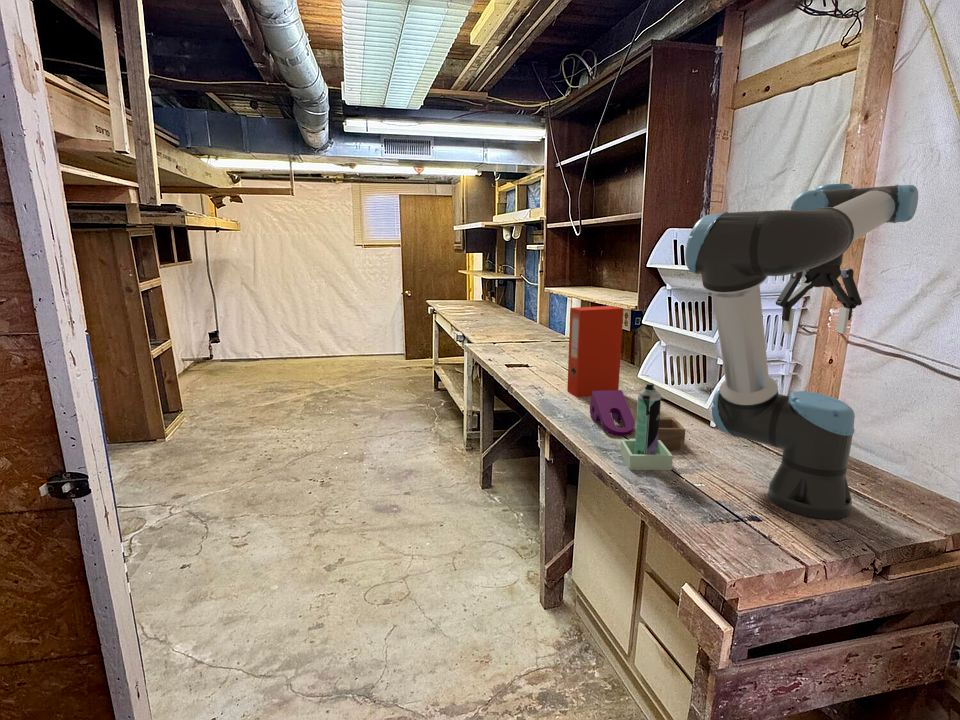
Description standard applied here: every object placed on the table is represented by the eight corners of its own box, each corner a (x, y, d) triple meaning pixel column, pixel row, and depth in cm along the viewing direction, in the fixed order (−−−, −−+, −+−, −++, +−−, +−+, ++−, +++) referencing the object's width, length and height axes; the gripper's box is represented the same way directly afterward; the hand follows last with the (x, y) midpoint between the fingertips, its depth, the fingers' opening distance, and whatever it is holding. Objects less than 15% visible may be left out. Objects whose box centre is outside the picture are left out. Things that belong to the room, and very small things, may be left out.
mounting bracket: (632, 451, 154) (616, 409, 168) (639, 431, 149) (621, 390, 163) (602, 452, 154) (588, 409, 168) (607, 432, 148) (592, 390, 163)
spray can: (657, 463, 129) (663, 387, 125) (635, 462, 130) (640, 386, 126) (654, 455, 134) (660, 381, 130) (633, 453, 136) (637, 380, 131)
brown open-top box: (683, 450, 139) (685, 429, 138) (650, 449, 140) (651, 429, 138) (669, 434, 151) (671, 414, 150) (638, 433, 152) (640, 414, 150)
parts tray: (671, 470, 127) (672, 455, 127) (629, 469, 128) (630, 455, 127) (659, 453, 138) (660, 440, 137) (619, 453, 138) (620, 439, 137)
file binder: (618, 393, 192) (623, 308, 185) (577, 397, 187) (580, 310, 180) (607, 387, 200) (611, 305, 193) (567, 391, 195) (569, 307, 188)
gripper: (866, 248, 131) (853, 330, 136) (767, 249, 132) (757, 331, 137) (887, 249, 124) (873, 335, 129) (782, 250, 125) (772, 336, 130)
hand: (814, 333), depth 133 cm, fingers open, 13 cm apart
